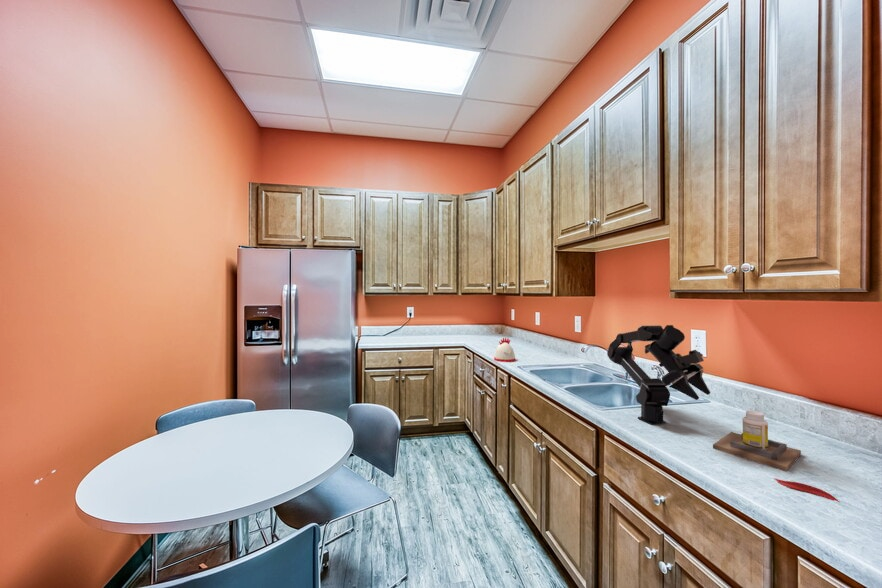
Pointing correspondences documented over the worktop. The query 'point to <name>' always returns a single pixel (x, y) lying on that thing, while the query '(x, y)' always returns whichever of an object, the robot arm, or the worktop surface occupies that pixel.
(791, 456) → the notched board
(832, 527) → the worktop surface
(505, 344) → the cream dome hat
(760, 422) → the supplement bottle
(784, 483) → the cayenne pepper
